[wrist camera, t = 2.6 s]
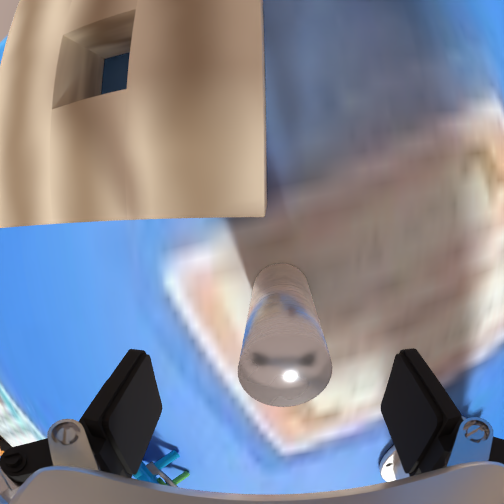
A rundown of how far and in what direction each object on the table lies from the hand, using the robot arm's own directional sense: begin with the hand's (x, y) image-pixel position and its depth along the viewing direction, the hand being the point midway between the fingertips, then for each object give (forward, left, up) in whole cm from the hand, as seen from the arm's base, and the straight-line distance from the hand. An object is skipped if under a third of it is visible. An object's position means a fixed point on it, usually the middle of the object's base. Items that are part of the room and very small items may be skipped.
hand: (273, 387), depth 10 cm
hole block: (+10, -15, -12) cm, 22 cm away
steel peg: (-1, +1, -12) cm, 12 cm away
